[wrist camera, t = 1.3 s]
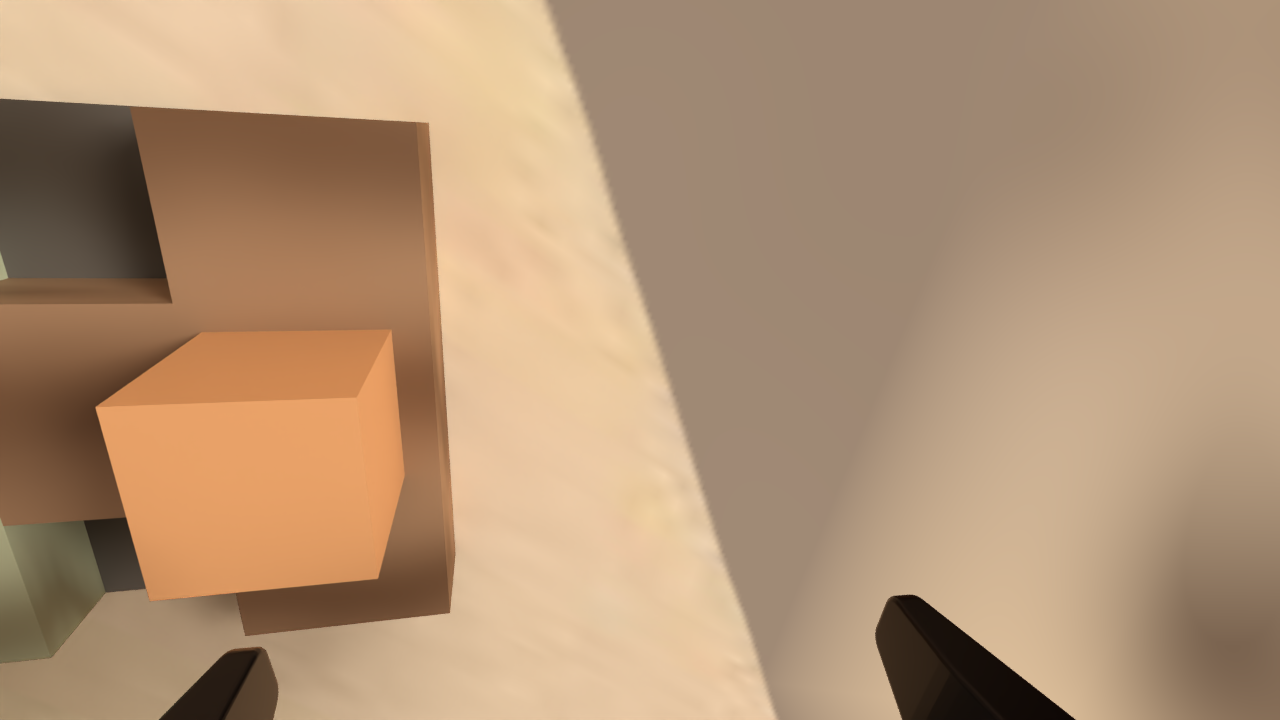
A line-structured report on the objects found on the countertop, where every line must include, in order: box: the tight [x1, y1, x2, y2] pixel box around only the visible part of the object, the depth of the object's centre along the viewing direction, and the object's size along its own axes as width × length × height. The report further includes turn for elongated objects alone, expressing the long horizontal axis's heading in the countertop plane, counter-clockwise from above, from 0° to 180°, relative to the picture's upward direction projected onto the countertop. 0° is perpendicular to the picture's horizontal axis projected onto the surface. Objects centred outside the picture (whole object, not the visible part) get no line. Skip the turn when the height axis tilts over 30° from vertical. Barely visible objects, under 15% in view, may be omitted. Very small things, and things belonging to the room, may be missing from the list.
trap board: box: [0, 99, 455, 663], centre depth 17 cm, size 15×17×3 cm
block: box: [95, 330, 405, 601], centre depth 15 cm, size 4×4×4 cm
